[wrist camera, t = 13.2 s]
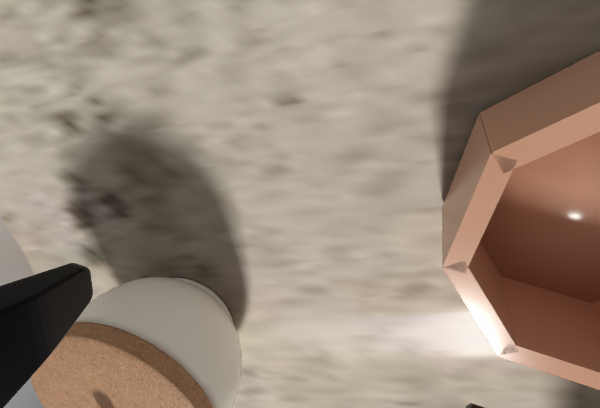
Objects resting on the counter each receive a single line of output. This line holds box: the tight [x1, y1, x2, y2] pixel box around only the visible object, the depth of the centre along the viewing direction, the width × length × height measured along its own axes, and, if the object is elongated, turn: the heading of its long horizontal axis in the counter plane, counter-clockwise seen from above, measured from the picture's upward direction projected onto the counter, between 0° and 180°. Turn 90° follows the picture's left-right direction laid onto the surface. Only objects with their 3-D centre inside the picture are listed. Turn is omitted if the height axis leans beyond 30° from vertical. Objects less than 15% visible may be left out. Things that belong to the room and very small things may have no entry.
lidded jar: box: [31, 277, 242, 408], centre depth 24 cm, size 11×11×9 cm
